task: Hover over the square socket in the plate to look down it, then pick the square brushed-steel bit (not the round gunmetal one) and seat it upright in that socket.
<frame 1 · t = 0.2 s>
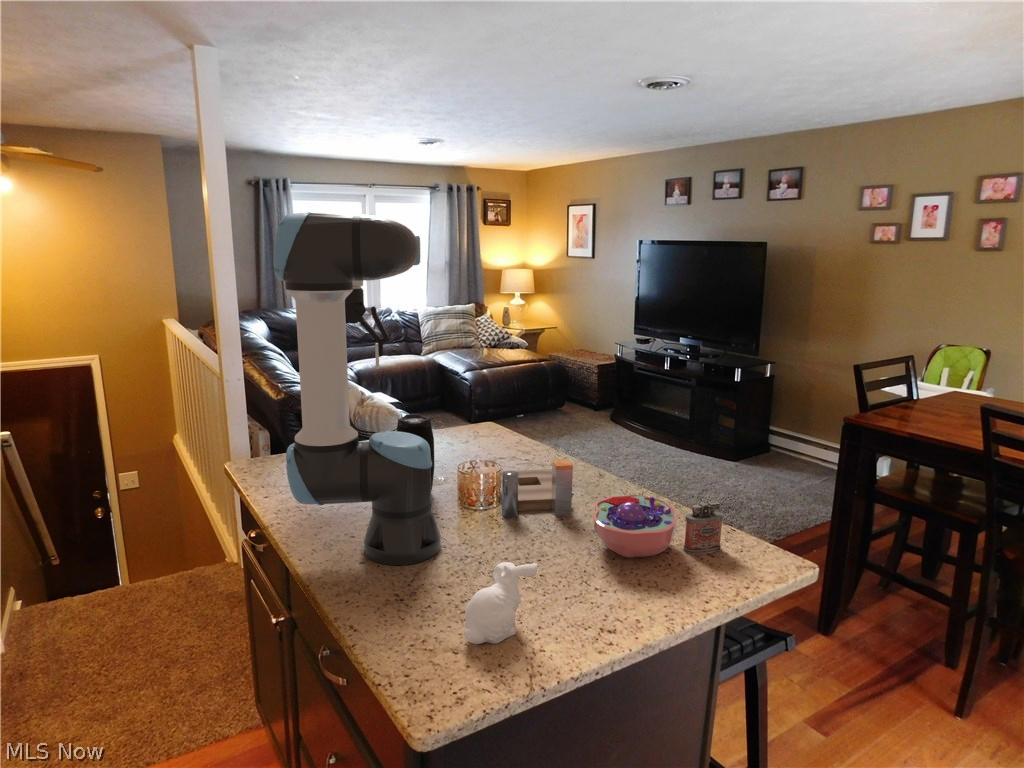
hand: (351, 368, 165), 28 cm above the kitchen island, fingers open, 13 cm apart
round bit: (509, 514, 142), on the kitchen island
rabbit: (498, 629, 99), on the kitchen island
square bit: (561, 512, 144), on the kitchen island
portable speaker: (415, 495, 153), on the kitchen island
socket plate: (529, 493, 155), on the kitchen island
lighter: (701, 550, 127), on the kitchen island
cell model: (632, 550, 126), on the kitchen island
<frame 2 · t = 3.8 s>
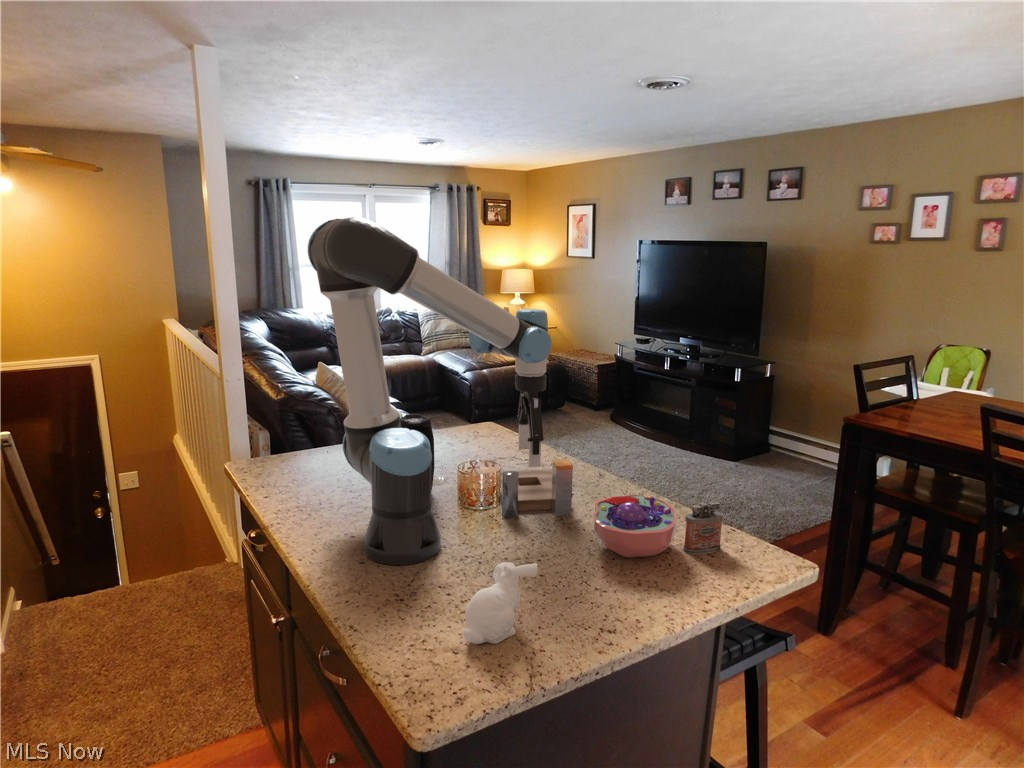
hand: (528, 457, 155), 9 cm above the kitchen island, fingers open, 13 cm apart
nothing on the kitchen island moved.
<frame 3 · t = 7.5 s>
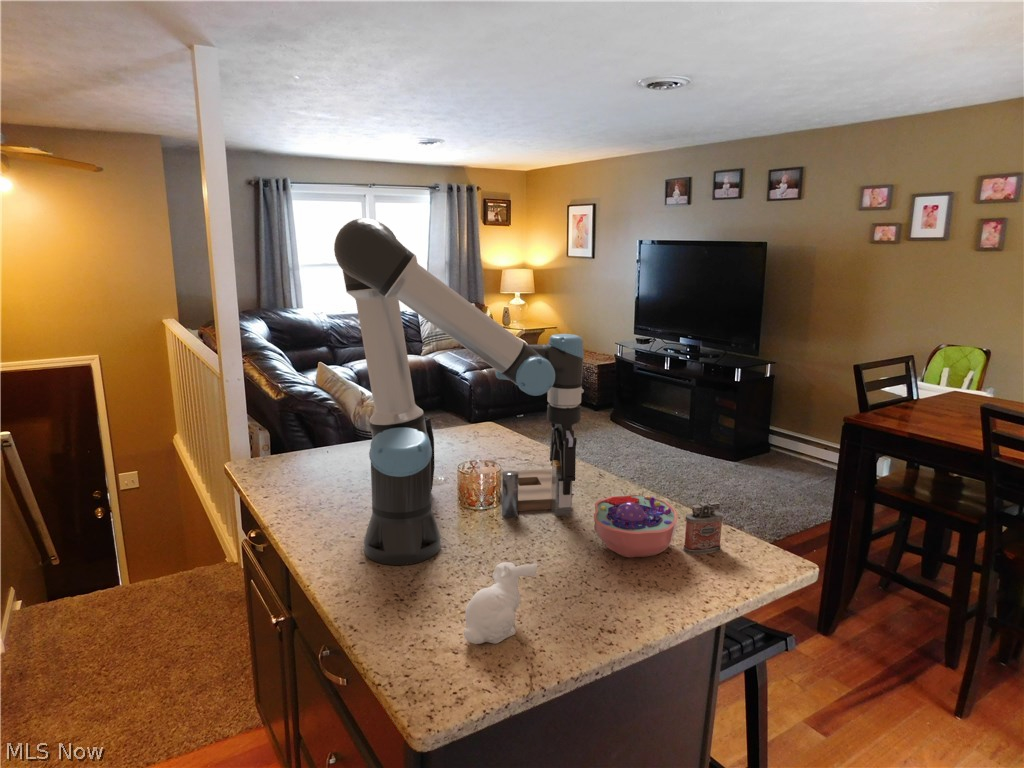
hand: (560, 500, 144), 3 cm above the kitchen island, fingers open, 7 cm apart
nothing on the kitchen island moved.
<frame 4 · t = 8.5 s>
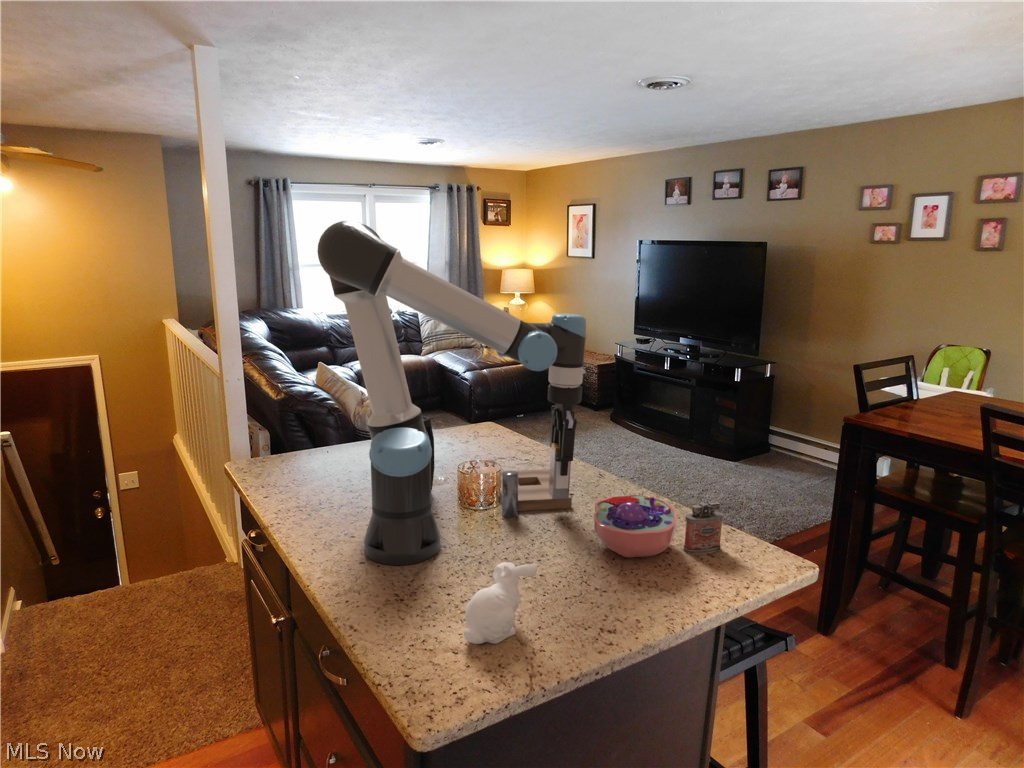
hand: (559, 484, 143), 7 cm above the kitchen island, fingers closed on square bit, 4 cm apart
square bit: (558, 495, 143), point 4 cm above the kitchen island, touching gripper
everything else where it was.
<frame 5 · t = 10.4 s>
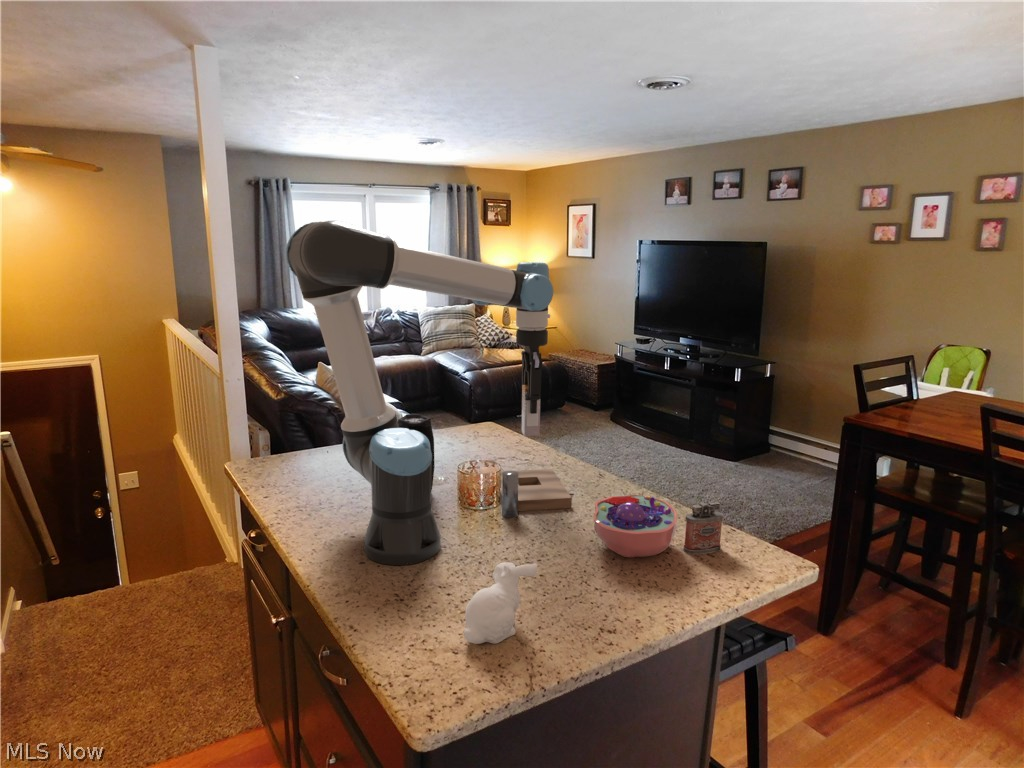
hand: (530, 422, 153), 18 cm above the kitchen island, fingers closed on square bit, 4 cm apart
square bit: (530, 433, 154), point 15 cm above the kitchen island, touching gripper
everything else where it was.
when the fingers open (4 cm above the kitchen island, at t = 12.2 s): square bit stays where it is, resting in socket plate.
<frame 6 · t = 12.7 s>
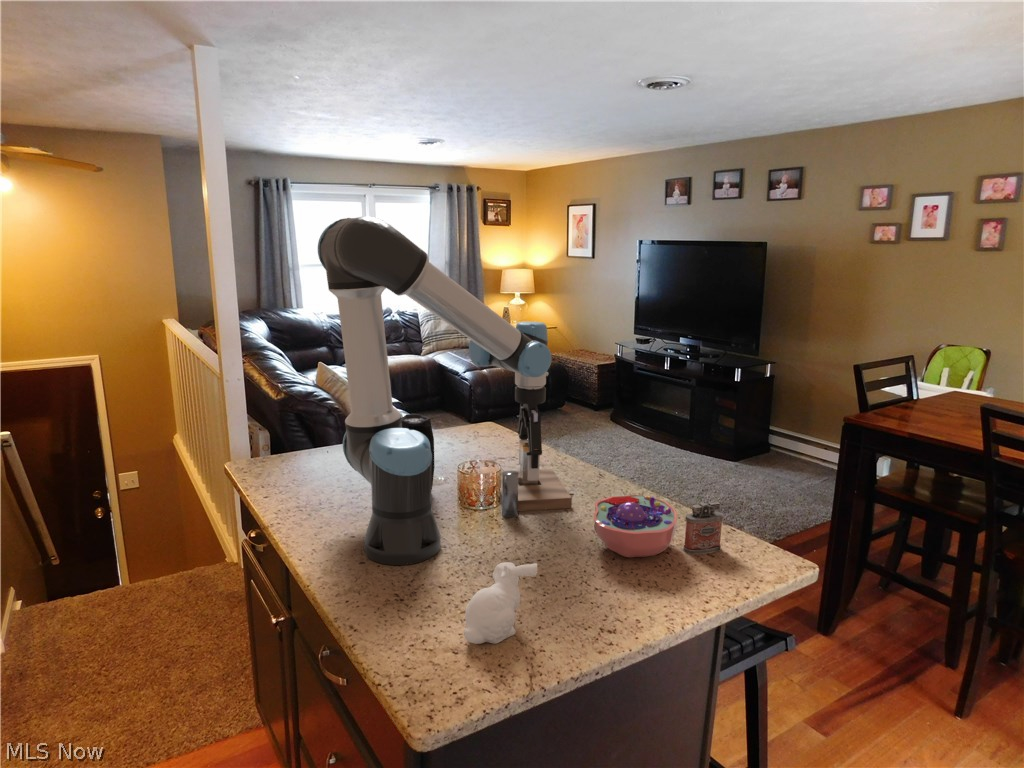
hand: (528, 471, 156), 5 cm above the kitchen island, fingers open, 11 cm apart
square bit: (528, 490, 157), resting in socket plate
everything else where it was.
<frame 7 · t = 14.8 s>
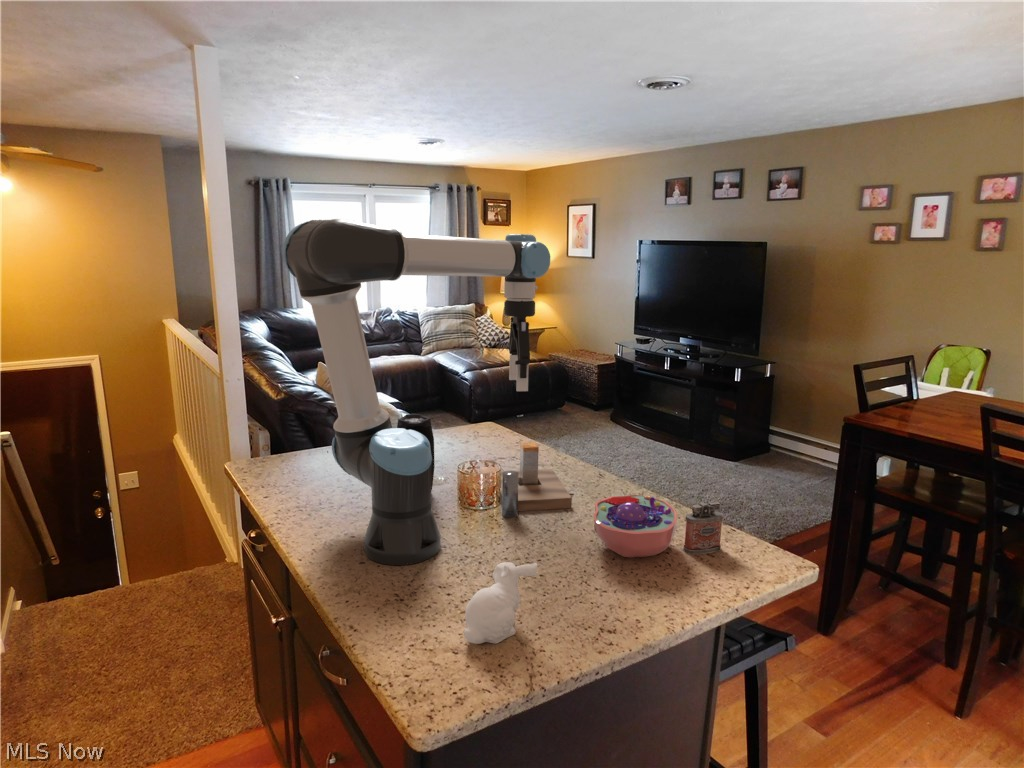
hand: (518, 385, 156), 26 cm above the kitchen island, fingers open, 13 cm apart
nothing on the kitchen island moved.
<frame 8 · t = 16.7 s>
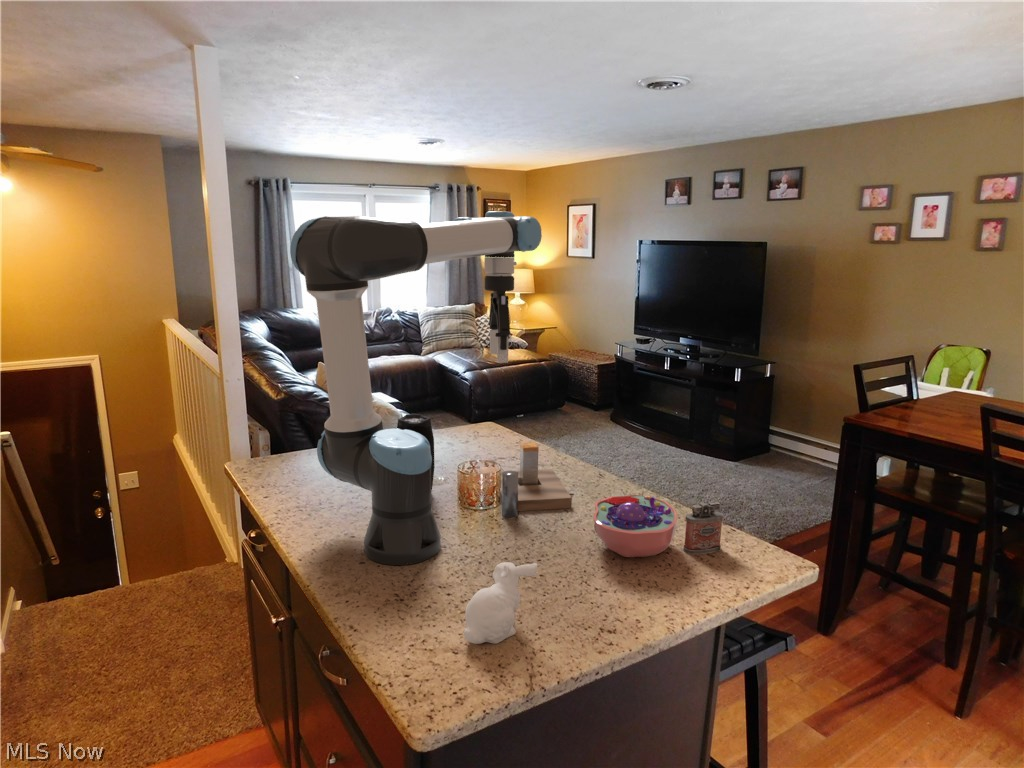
hand: (498, 358, 162), 32 cm above the kitchen island, fingers open, 13 cm apart
nothing on the kitchen island moved.
at the end: square bit 0.1 cm from the target spot on the socket plate, point 0.0 cm above the socket plate's base; square bit tilted 0°; round bit moved 0.0 cm from its start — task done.
